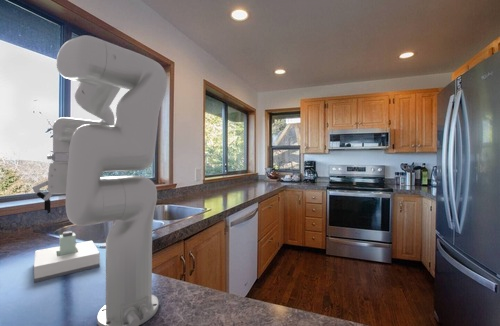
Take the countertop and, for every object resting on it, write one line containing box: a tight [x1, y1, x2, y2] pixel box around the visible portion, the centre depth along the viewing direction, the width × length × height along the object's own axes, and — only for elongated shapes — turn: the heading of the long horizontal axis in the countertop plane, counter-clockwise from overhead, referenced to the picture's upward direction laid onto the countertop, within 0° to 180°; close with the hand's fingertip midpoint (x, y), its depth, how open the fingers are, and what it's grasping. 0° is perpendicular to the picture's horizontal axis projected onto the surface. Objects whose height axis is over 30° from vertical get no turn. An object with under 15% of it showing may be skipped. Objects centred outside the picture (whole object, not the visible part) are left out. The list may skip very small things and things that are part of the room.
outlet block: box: [33, 240, 101, 283], centre depth 79 cm, size 16×16×4 cm
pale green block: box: [59, 230, 77, 256], centre depth 79 cm, size 4×4×10 cm
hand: (67, 210), depth 79 cm, fingers open, 9 cm apart
